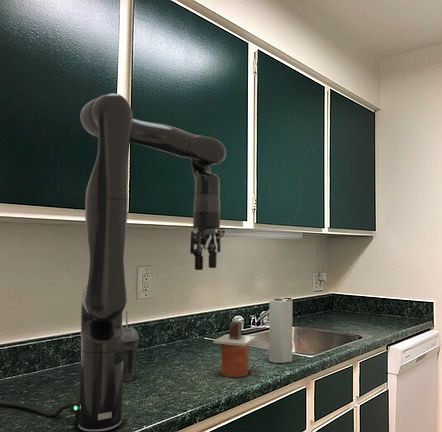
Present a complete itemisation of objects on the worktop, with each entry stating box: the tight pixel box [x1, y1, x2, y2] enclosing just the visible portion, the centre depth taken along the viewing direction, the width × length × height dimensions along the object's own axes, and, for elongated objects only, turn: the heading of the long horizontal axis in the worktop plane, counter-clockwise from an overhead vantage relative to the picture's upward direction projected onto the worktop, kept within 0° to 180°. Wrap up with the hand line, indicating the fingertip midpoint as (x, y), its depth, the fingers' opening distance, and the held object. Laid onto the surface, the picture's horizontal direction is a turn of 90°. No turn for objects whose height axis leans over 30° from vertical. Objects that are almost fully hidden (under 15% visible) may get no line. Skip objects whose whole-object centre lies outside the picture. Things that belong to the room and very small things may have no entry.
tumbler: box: [220, 343, 250, 378], centre depth 143 cm, size 9×9×10 cm
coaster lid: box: [212, 321, 257, 346], centre depth 143 cm, size 10×10×6 cm
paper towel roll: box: [268, 298, 293, 364], centre depth 157 cm, size 7×6×21 cm
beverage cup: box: [122, 310, 140, 382], centre depth 136 cm, size 7×7×20 cm
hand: (205, 268), depth 126 cm, fingers open, 8 cm apart
